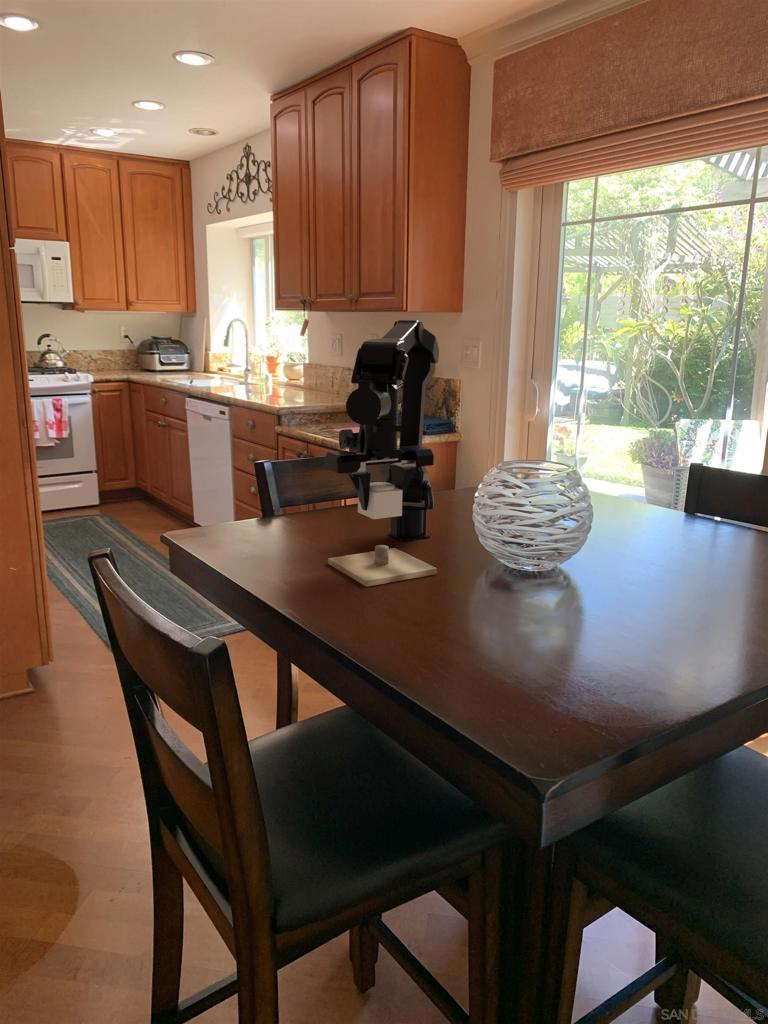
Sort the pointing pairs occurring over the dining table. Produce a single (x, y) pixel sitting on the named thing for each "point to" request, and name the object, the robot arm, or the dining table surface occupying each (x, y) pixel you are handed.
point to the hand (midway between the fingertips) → (379, 508)
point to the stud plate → (381, 566)
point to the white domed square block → (383, 501)
